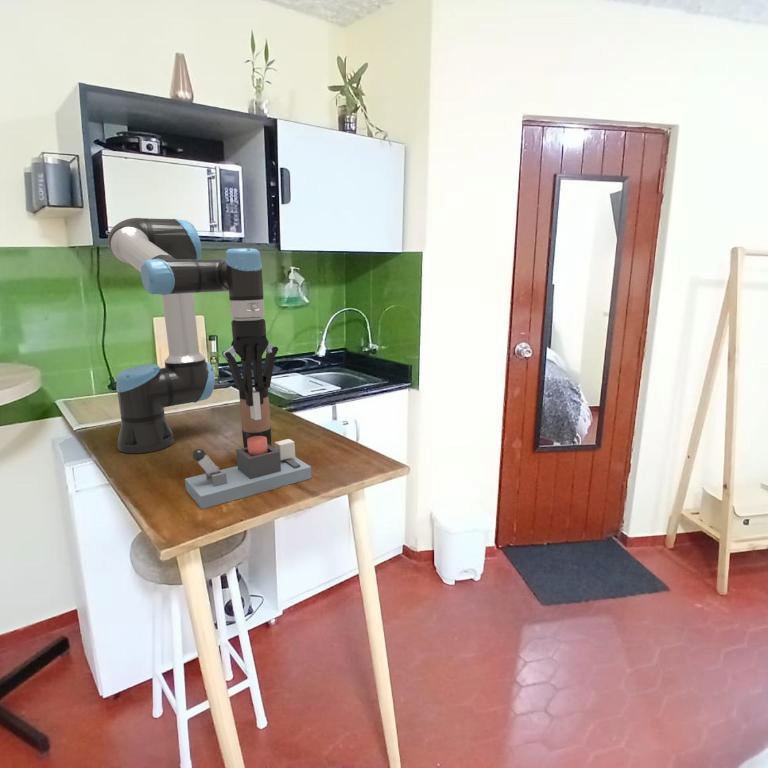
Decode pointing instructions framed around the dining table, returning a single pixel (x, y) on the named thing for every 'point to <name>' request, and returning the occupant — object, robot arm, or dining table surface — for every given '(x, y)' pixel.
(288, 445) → the slider
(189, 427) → the dining table surface
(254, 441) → the button
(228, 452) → the dining table surface
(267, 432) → the travel mug
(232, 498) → the panel
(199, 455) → the lever
